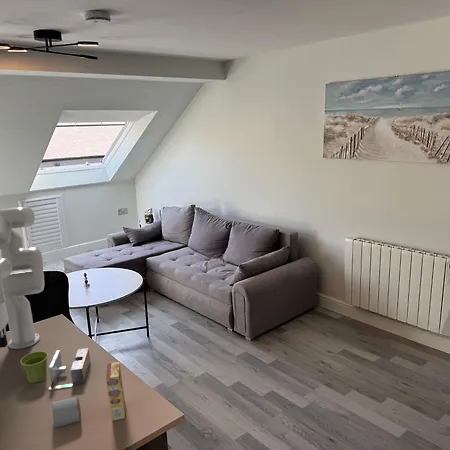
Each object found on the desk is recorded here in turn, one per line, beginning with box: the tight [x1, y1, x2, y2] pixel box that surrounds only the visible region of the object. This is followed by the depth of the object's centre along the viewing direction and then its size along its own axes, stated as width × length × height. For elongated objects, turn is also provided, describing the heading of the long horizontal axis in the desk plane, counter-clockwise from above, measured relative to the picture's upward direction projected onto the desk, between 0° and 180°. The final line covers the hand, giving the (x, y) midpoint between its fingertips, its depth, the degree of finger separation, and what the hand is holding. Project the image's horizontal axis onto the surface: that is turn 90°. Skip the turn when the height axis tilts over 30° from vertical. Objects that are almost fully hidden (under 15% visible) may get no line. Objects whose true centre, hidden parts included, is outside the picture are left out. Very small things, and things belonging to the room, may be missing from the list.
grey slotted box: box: [48, 347, 91, 391], centre depth 156 cm, size 12×16×6 cm
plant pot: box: [20, 350, 49, 384], centre depth 155 cm, size 9×9×9 cm
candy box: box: [105, 361, 126, 422], centre depth 134 cm, size 9×4×15 cm, turn 13°
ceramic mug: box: [51, 397, 82, 429], centre depth 132 cm, size 11×8×8 cm
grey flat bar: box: [48, 349, 68, 388], centre depth 155 cm, size 4×14×7 cm, turn 9°
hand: (2, 346), depth 150 cm, fingers closed
